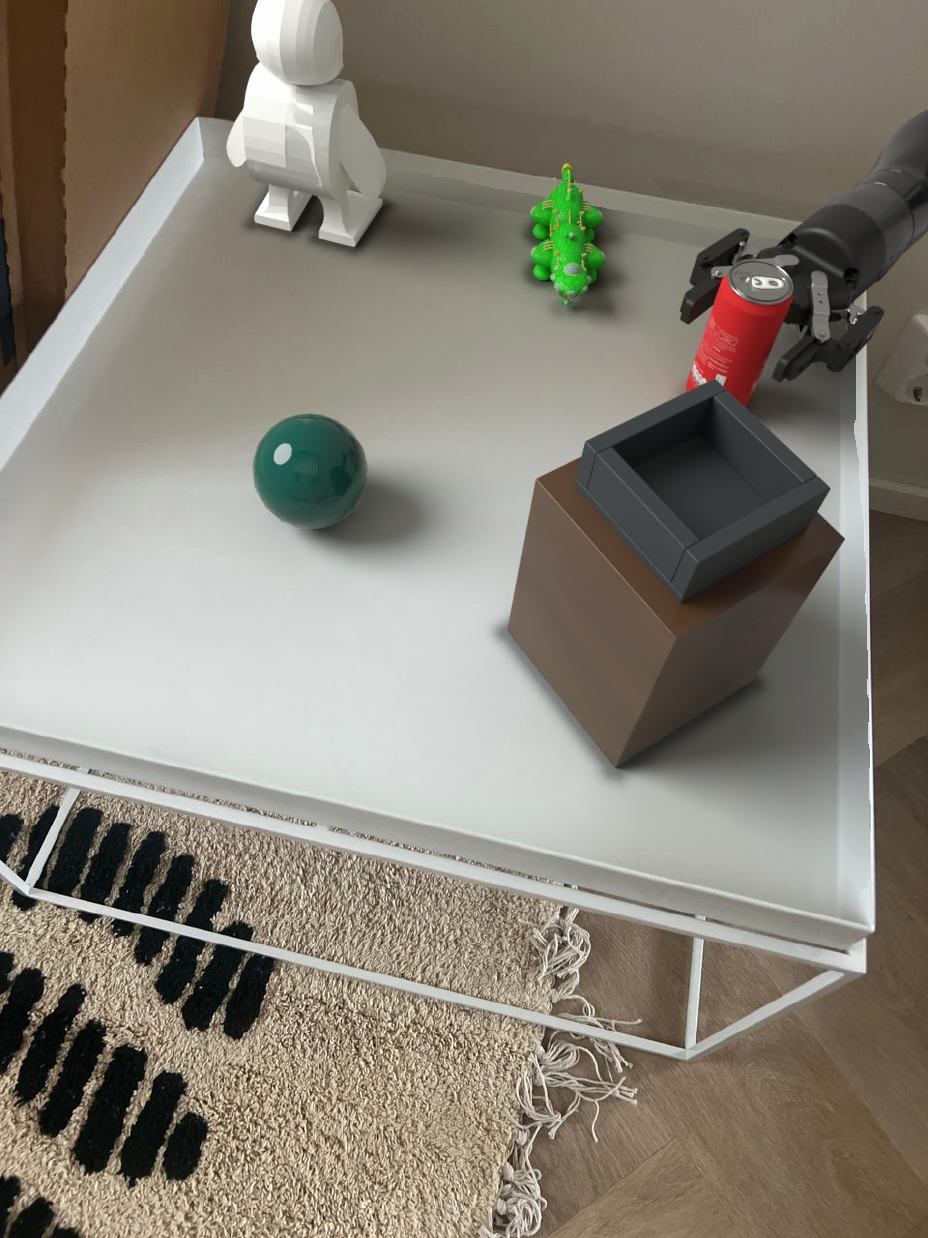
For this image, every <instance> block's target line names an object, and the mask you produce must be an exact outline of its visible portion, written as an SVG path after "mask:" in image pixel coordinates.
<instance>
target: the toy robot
mask: <svg viewBox="0 0 928 1238" xmlns="http://www.w3.org/2000/svg"><path fill="white" fill-rule="evenodd" d="M250 30H251V31H250V33H251V39H252V42H253V43H252V44H253V47H254V50H255V53H256V58H257V59H258V61H259V62H258V63H257V64H256V65H255V67H254V68H253V70H252V71H251V73H250V76H249V79H248V82H247V85H246V90H245V95H244V101H243V108H242V110H241V111H240V113H239V114H238V116H237V117H236V119H235V121H234V122H233V124H232V127H231V130H230V132H229V135H228V138H227V141H226V147H225V148H226V153H227V157H228V159H229V161H230V163H231V165H233V166H234V167H235V168H239V167H241V166H242V165H243V164H244V163H245V162H246V167H247V170H248V173H249V176H250V177H251V179H252V180H253V181H254V182H258V183H262V184H265V185H268V192H267V193H266V196H265V197H264V199H263V201H262V202H261V204H260V205H259V207H258V209H257V211H256V212H255V214H254V217H253V219H254V222H255V223H256V224H260V225H263V226H268V227H270V228H271V227H272V228H276V229H280V230H284V231H288V232H292V230H293V229H294V227H295V225H296V224H297V222H298V220H299V218H300V217H301V215H302V213H303V212H304V210H305V209H306V206H307V205H308V203H309V201H310V200H311V198H312V196H315V197H317V198H318V200H319V201H320V203H321V205H322V209H323V222H322V224H321V226H320V228H319V230H318V239H321V240H324V241H329V242H333V243H336V244H341V245H345V246H349V247H352V248H356V246H357V245H358V243H359V241H360V240H361V238H362V237H363V235H364V234H365V232H366V231H367V230H368V228H369V226H370V225H371V223H372V222H373V221H374V219H375V217H376V215H377V214H378V213H379V211H380V209H381V208H382V206H383V205H384V202H383V198H379V197H380V196H381V194H382V192H383V191H384V189H385V186H386V183H387V167H386V162H385V159H384V157H383V155H382V151H381V150H380V149H379V147H378V144H377V143H376V142H377V141H376V140H375V139H374V136H373V135H372V134H371V132H370V131H369V129H368V128H367V127H366V125H365V124H364V122H363V121H362V120H361V118H360V113H359V105H358V99H357V98H358V97H357V93H356V88H355V85H354V83H353V82H352V81H351V80H347V79H343V78H339V77H338V76H339V75H340V73H341V72H342V70H343V68H344V58H343V57H344V56H343V52H344V34H343V33H344V32H343V26H342V24H341V20H340V16H339V13H338V11H337V8H336V6H335V4H334V3H333V2H332V1H331V0H257V2H256V5H255V8H254V12H253V13H252V19H251V29H250ZM352 183H353V185H354V186H355V188H356V189H357V190H358V191H359V192H358V191H354V190H351V189H350V187H351V184H352ZM255 223H254V224H255Z"/></svg>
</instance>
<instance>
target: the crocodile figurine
mask: <svg viewBox="0 0 928 1238" xmlns="http://www.w3.org/2000/svg"><path fill="white" fill-rule="evenodd" d="M573 173H574V169H573V167H572V165H571V164H570V163H567V162H566V163H564V164H563V166H562V168H561V174H562V177H561V183H562V181H564V182H569V183H568V184H567V183H562V184H560V183H559V184H560V185H558V186H557V187H553V191H552V192H551V194H550V197H549V199H548V198H547V199H543V200H541V201H540V202H539V203H538V204H536V205H534V206H532V207H531V209H530V210H529V211H530V212H529V214H530V219H531V221H533V222H534V223H536V224H535V226H534V227H533V229H532V233H533V236H534V237H535V238H536V239H538V240H543V241H541V242H540V243H539V244H537V245H536V246H533V247H532V248H531V250H530V256H531V257H530V260H531V261H532V263H534V264H535V266H534V268H533V275H534V277H535V278H536V279H537V280H539V281H547V280H551V282H552V284H553V286H554V287H553V288H554V289H555V293H557V295H559V296H560V297H561V298H563V299H564V300H561V301H560V305H561V307H564V306H565V307H568V306H569V307H573V306H574V303H573V301H570V300H573V299H575V298H576V297H578V296H579V295H581V296H583V294H584V293H586V292H588V290H589V285H590V284H592V283H594V282H595V281H596V280H597V277H598V274H597V271H596V270H600V269H601V268H603V267H604V266H605V265H606V259H607V257H606V254H605V253H604V252H603V251H601V250H600V249H599V248H598V247H596V245H594V244H593V243H592V241H593V240H594V239H595V232H594V230H593V229H595V228H598V227H599V226H601V225H602V223H603V219H604V215H603V213H602V212H601V211H600V210H598V209H597V208H596V207H595V206H594V205H592V204H591V203H590V202H588V201H587V200H584V201H583V199H584V195H583V193H584V192H585V190H584V188H581V189H579V188H577V187H576V186H574V185H570V182H571V183H574V182H576V183H578V184H579V182H578V181H577V179H575V176H574V174H573ZM552 179H557V176H554V177H553V178H552Z"/></svg>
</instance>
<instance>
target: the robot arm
mask: <svg viewBox="0 0 928 1238" xmlns="http://www.w3.org/2000/svg"><path fill="white" fill-rule="evenodd" d="M898 127H899V126H898ZM898 127H897V128H898ZM897 128H896V129H897ZM896 129H895V130H896ZM895 130H894V131H895ZM894 131H893V133H891V134H890V136H891V137H890V136H889V138H888V139H887V140H886V142H885V144H884V145H883V147H882V148H881V150H880V152H879V154H878V156H877V158H876V159H875V162H874V164H873V166H872V168H871V169H870V171H869V172H868V174H867V175H866V176H865V177H864V178H862V179H861V180H860V181H859V182H858V183H856V184H855V185H854V186H853V187H851V188H849V190H847V191H845V192H843V193H840V194H839V195H837V196H836V197H834V198H832V199H831V200H829V201H828V202H827V203H825V204H824V205H823V206H822V207H821V208H819V209H818V210H817V211H816V212H814V213H813V214H811V216H809V217H808V218H806V219H805V220H804V221H803V222H801V223H800V224H799V225H798V226H796V227H795V228H794V229H793V230H791V231H790V232H789V233H788V234H786V235H785V236H784V238H782V239H781V241H780V242H778V243H777V244H776V245H775V246H772V247H766V248H763V249H760V248H759V247H757V246H755V245H753V244H752V243H751V242H749V238H750V235H751V233H750V231H749V230H748V229H747V228H743V227H739V228H736V229H734V230H733V231H731V232H729V233H728V234H726V235H725V236H723V237H722V238H720V239H719V240H717V241H716V242H714V243H712V244H711V245H709V246H708V247H706V248H704V249H703V250H702V251H700V252H698V253H697V255H696V258H695V262H694V265H693V269H692V271H691V275H690V277H689V284H690V285H691V286H692V287H691V288H690V289H688V290H687V291H686V292H685V293H684V295H683V299H682V301H681V304H680V308H679V313H680V317H679V320H680V321H681V322H682V323H684V324H686V325H690V324H691V323H693V322H694V321H695V320H696V319H698V318H699V317H700V316H701V315H703V314H704V313H705V312H706V311H708V310H709V309H710V308H712V307H713V305H714V302H715V299H716V296H717V293H718V290H719V287H720V284H721V281H722V279H723V278H724V276H725V275H726V274H727V273H728V272H729V270H730V268H731V267H732V266H733V265H735V264H736V263H738V262H741V261H744V260H762V261H767V262H770V263H773V264H775V265H777V266H779V267H780V268H782V269H783V270H784V271H785V272H786V273H787V274H788V275H789V276H790V278H791V280H792V282H793V291H792V296H793V298H792V303H791V305H790V307H789V310H788V312H787V314H786V317H785V319H784V321H783V324H784V323H785V324H786V325H788V326H790V325H791V324H792V325H795V326H796V334H797V342H796V343H795V344H794V345H793V346H791V347H790V349H789V350H787V351H786V352H784V354H783V355H781V357H780V358H779V360H778V361H777V362H776V365H775V368H774V370H773V372H772V374H771V377H770V378H771V379H772V380H773V381H775V382H776V383H778V384H780V383H782V382H783V381H784V380H786V381H788V382H791V381H793V380H796V379H797V378H798V377H799V376H800V375H801V374H803V373H804V372H805V371H806V370H807V369H808V368H810V367H811V366H812V365H817V364H818V363H822V364H825V365H826V368H827V369H828V371H830V372H831V373H836V374H838V373H842V371H844V370H845V368H846V367H847V366H848V365H849V364H850V362H852V360H853V359H854V358H855V357H856V356H857V355H858V354H859V353H860V352H861V350H862V349H864V347H865V346H866V345H867V344H868V343H869V342H870V341H871V340H872V338H873V336H874V334H875V332H876V330H877V329H878V326H880V323H881V321H882V319H883V318H884V316H885V310H884V309H883V308H882V307H880V306H878V305H871V306H869V307H868V308H867V309H866V310H865V309H863V308H862V307H859V306H858V305H855V304H854V302H855V301H856V300H857V299H859V298H860V297H861V296H862V295H863V294H864V293H865V292H867V290H869V289H870V288H871V287H872V286H873V285H874V284H876V283H877V282H880V281H881V280H882V279H883V278H884V277H885V276H886V275H887V273H888V272H889V271H890V270H891V269H892V268H893V267H894V266H895V264H896V263H897V262H898V261H899V260H900V259H901V257H902V256H903V255H904V254H905V253H906V252H907V251H908V250H909V249H911V248H912V247H913V246H914V245H915V244H916V243H918V242H919V241H920V240H922V238H923V237H924V236H925V235H926V234H927V233H928V110H924V111H923V112H921V113H919V114H918V115H916V116H914V117H913V118H911V119H909V120H908V121H907V122H906V123H904V124H903V125H902V126H901V127H899V128H898V129H897V130H896V131H895V132H894ZM842 320H843V321H844V322H845V326H844V331H845V333H844V334H843V335H842V336H841V337H840V338H839V339H836V338H833V337H831V331H830V324H829V323H838V322H839V321H842Z"/></svg>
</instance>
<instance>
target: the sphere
mask: <svg viewBox="0 0 928 1238" xmlns="http://www.w3.org/2000/svg"><path fill="white" fill-rule="evenodd" d="M251 466H252V468H251V469H252V477H253V484H254V485H253V486H254V489H255V492H256V493H257V495H258V497H259V498H260V500H261V503H262V504H263V505H264V507H265V508H266V510H267V511H268V512H270V513H271V514H272V515H273V516H274V517H276V518H277V519H278V520H279V521H280V522H282V523H284V524H287V525H290V526H292V527H295V528H297V529H304V530H319V529H326V528H329V527H331V526H334V525H336V524H339V523H340V522H342V521H344V520H345V519H346V518H347V517H349V515H351V514H352V513H354V511H355V510H356V508H357V507H358V506H359V504H360V503H361V501H362V499H363V498H364V497H365V493H366V490H367V485H368V479H369V466H368V462H367V455H366V452H365V449H364V447H363V445H362V444H361V442H360V441H359V439H358V438H357V437H356V435H355V434H354V432H353V431H352V430H351V429H349V428H348V427H347V426H345V424H343V423H341V422H340V421H339V420H337V419H334V418H332V417H329V416H327V415H325V414H319V413H311V412H306V413H300V414H293V415H291V416H288V417H286V418H283V419H281V420H280V421H278V422H276V424H274V425H272V426H271V427H270V428H269V429H268V430H267V432H266V433H265V434H264V435H263V437H262V438H261V439H260V441H259V442H258V445H257V446H256V450H255V452H254V456H253V460H252V465H251Z"/></svg>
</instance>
